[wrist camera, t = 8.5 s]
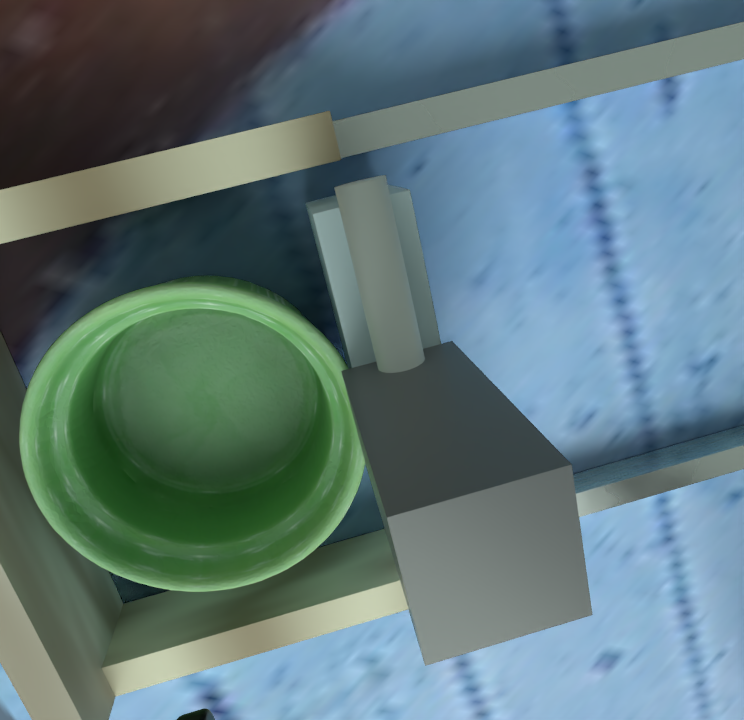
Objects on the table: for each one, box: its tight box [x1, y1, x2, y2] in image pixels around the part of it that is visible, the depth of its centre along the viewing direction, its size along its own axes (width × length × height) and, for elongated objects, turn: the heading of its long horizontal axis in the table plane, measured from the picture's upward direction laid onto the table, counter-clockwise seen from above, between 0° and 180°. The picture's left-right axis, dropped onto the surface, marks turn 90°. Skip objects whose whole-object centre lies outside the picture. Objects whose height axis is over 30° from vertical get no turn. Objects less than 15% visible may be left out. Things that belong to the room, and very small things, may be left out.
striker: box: [305, 175, 592, 666], centre depth 15 cm, size 3×12×11 cm, turn 13°
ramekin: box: [19, 275, 365, 592], centre depth 19 cm, size 9×9×4 cm
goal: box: [0, 22, 744, 720], centre depth 19 cm, size 31×15×5 cm, turn 103°
